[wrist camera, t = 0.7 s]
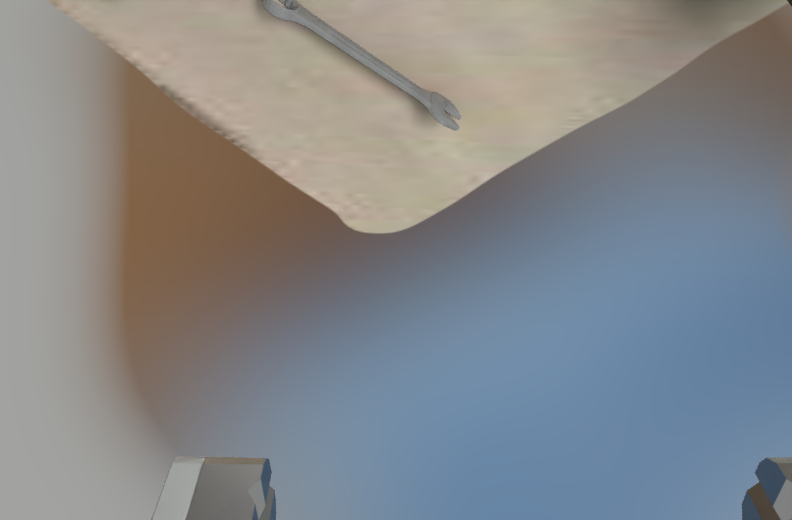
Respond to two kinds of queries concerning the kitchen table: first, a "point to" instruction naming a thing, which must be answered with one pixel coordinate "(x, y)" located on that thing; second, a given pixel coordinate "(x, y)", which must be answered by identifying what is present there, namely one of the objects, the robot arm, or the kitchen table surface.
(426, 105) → the combination wrench
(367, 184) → the kitchen table surface
